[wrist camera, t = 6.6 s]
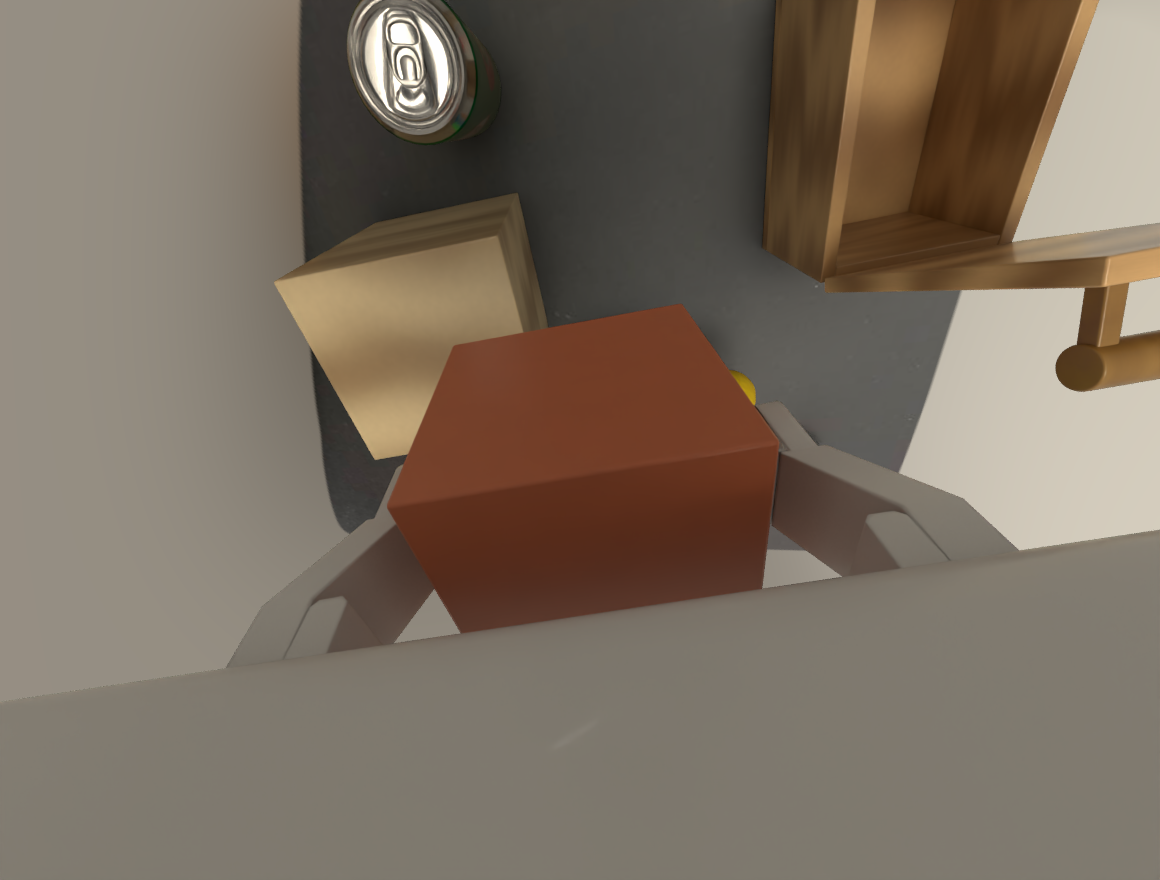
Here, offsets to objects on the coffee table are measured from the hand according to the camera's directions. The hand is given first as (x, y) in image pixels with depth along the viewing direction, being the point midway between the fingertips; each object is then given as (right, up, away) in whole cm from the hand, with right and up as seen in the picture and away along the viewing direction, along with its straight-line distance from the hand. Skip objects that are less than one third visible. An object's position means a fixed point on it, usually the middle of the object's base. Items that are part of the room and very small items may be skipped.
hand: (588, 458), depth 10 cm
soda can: (-7, +22, +17) cm, 29 cm away
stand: (-8, +12, +24) cm, 28 cm away
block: (0, +1, +1) cm, 2 cm away
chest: (+17, +21, +19) cm, 33 cm away
